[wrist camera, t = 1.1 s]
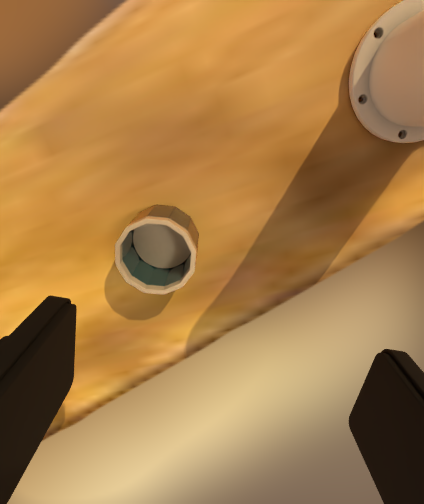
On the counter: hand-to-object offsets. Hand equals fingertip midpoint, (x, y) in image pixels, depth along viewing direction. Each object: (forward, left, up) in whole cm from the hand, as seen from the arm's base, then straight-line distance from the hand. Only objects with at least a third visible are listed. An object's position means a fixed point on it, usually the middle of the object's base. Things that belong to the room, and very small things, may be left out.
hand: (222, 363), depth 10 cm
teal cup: (+8, +2, -28) cm, 29 cm away
